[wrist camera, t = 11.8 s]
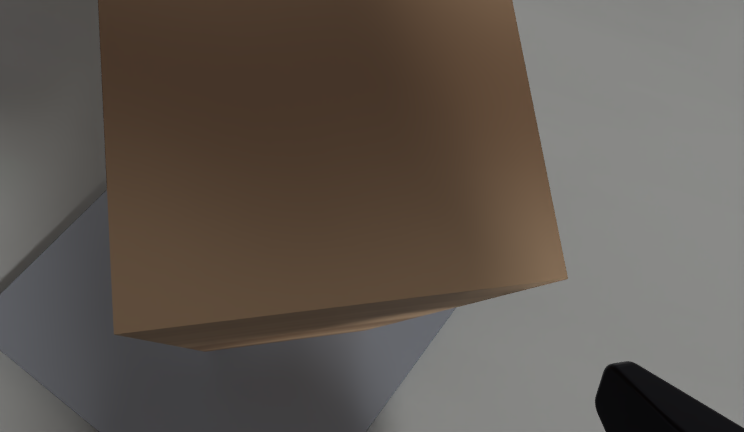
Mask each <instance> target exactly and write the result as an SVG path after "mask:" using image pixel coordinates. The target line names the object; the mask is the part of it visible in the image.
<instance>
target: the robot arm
mask: <svg viewBox="0 0 744 432" xmlns="http://www.w3.org/2000/svg"><path fill="white" fill-rule="evenodd" d="M595 405H596V410H597V413H598V415H599V418H600V420H601V422H602V424H603V427H604V429H605V431H606V432H744V428H743V427H741V426H739V425H738V424H736V423H734V422H733V421H731V420H729V419H728V418H726V417H724V416H723V415H721V414H719V413H718V412H716V411H714V410H713V409H711V408H709V407H708V406H706V405H704V404H703V403H701V402H699V401H698V400H696V399H694V398H693V397H691V396H689V395H688V394H686V393H684V392H683V391H681V390H679V389H678V388H676V387H674V386H673V385H671V384H669V383H668V382H666V381H664V380H663V379H661V378H659V377H657V376H656V375H654V374H652V373H651V372H649V371H647V370H646V369H644V368H642V367H641V366H639V365H637V364H635V363H633V362H629V361H626V362H620V363H614V364H610V365H608V366H607V367H606V368H605V370H604V372H603V375H602V379H601V382H600V385H599V388H598V391H597V394H596V397H595Z"/></svg>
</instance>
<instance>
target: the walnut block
mask: <svg viewBox="0 0 744 432" xmlns="http://www.w3.org/2000/svg"><path fill="white" fill-rule="evenodd" d="M98 8H99V30H100V51H101V72H102V93H103V115H104V136H105V157H106V178H107V199H108V221H109V242H110V263H111V284H112V306H113V327H114V335H119V336H124V337H130V338H135V339H140V340H146V341H151V342H156V343H162V344H167V345H172V346H177V347H183V348H188V349H193V350H199V351H204V352H206V351H214V350H221V349H229V348H236V347H244V346H252V345H259V344H267V343H274V342H282V341H289V340H297V339H304V338H312V337H319V336H327V335H335V334H342V333H350V332H357V331H365V330H369V329H373V328H377V327H381V326H385V325H389V324H393V323H397V322H400V321H404V320H408V319H412V318H416V317H420V316H424V315H428V314H432V313H436V312H440V311H444V310H447V309H451V308H455V307H459V306H463V305H467V304H471V303H475V302H479V301H483V300H487V299H491V298H495V297H498V296H502V295H506V294H510V293H514V292H518V291H522V290H526V289H530V288H534V287H538V286H542V285H545V284H549V283H553V282H557V281H561V280H565V279H568V277H567V272H566V267H565V262H564V257H563V252H562V247H561V242H560V237H559V232H558V227H557V222H556V217H555V212H554V207H553V202H552V197H551V192H550V187H549V182H548V177H547V172H546V167H545V162H544V157H543V152H542V147H541V142H540V137H539V132H538V127H537V122H536V117H535V112H534V107H533V102H532V97H531V92H530V87H529V82H528V77H527V72H526V67H525V62H524V57H523V52H522V47H521V42H520V37H519V32H518V27H517V22H516V17H515V12H514V7H513V2H512V0H98Z"/></svg>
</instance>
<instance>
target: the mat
mask: <svg viewBox="0 0 744 432" xmlns="http://www.w3.org/2000/svg"><path fill="white" fill-rule="evenodd" d="M455 308H456V307H455ZM455 308H451V309H447V310H444V311H440V312H436V313H432V314H428V315H424V316H420V317H416V318H412V319H408V320H404V321H400V322H397V323H393V324H389V325H385V326H381V327H377V328H373V329H369V330H365V331H357V332H350V333H342V334H335V335H327V336H319V337H312V338H304V339H297V340H289V341H282V342H274V343H267V344H259V345H252V346H244V347H236V348H229V349H221V350H214V351H206V352H204V351H199V350H193V349H188V348H183V347H177V346H172V345H167V344H162V343H156V342H151V341H146V340H140V339H135V338H130V337H124V336H119V335H114V327H113V306H112V284H111V263H110V242H109V221H108V199H107V190H106V191H105V192H104V193H103V194H102V195H101V196H100V197H99V198H98V199H97V200H96V201H95V202H94V203H93V204H92V205H91V206H90V207H89V208H88V209H87V210H86V211H85V212H84V213H83V214H81V215H80V216H79V217H78V218H77V219H76V220H75V221H74V222H73V223H72V224H71V225H70V226H69V227H68V228H67V229H66V230H65V231H64V232H63V233H62V234H61V235H60V236H59V237H58V238H57V239H56V240H55V241H54V242H53V243H52V244H51V245H50V246H49V247H48V248H47V249H46V250H45V251H44V252H43V253H42V254H41V255H40V256H39V257H38V258H37V259H36V260H35V261H34V262H32V263H31V264H30V265H29V266H28V267H27V268H26V269H25V270H24V271H23V272H22V273H21V274H20V275H19V276H18V277H17V278H16V279H15V280H14V281H13V282H12V283H11V284H10V285H9V286H8V287H7V288H6V289H5V290H4V291H3V292H2V293H1V294H0V350H1V351H2V352H3V353H4V354H5V355H7V356H8V357H9V358H10V359H11V360H13V361H14V362H15V363H16V364H18V365H19V366H20V367H21V368H22V369H24V370H25V371H26V372H27V373H28V374H30V375H31V376H32V377H33V378H34V379H36V380H37V381H38V382H39V383H41V384H42V385H43V386H44V387H45V388H47V389H48V390H49V391H50V392H51V393H53V394H54V395H55V396H56V397H57V398H59V399H60V400H61V401H62V402H64V403H65V404H66V405H67V406H68V407H70V408H71V409H72V410H73V411H74V412H76V413H77V414H78V415H79V416H80V417H82V418H83V419H84V420H85V421H87V422H88V423H89V424H90V425H91V426H93V427H94V428H95V429H96V430H97V431H99V432H366V431H367V429H368V428H369V427H370V425H371V424H372V422H373V421H374V420H375V418H376V417H377V416H378V414H379V413H380V411H381V410H382V409H383V407H384V406H385V405H386V403H387V402H388V400H389V399H390V398H391V396H392V395H393V394H394V392H395V391H396V389H397V388H398V387H399V385H400V384H401V383H402V381H403V380H404V379H405V377H406V376H407V374H408V373H409V372H410V370H411V369H412V368H413V366H414V365H415V363H416V362H417V361H418V359H419V358H420V357H421V355H422V354H423V352H424V351H425V350H426V348H427V347H428V346H429V344H430V343H431V341H432V340H433V339H434V337H435V336H436V335H437V333H438V332H439V330H440V329H441V328H442V326H443V325H444V324H445V322H446V321H447V319H448V318H449V317H450V315H451V314H452V313H453V311H454V310H455Z"/></svg>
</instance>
